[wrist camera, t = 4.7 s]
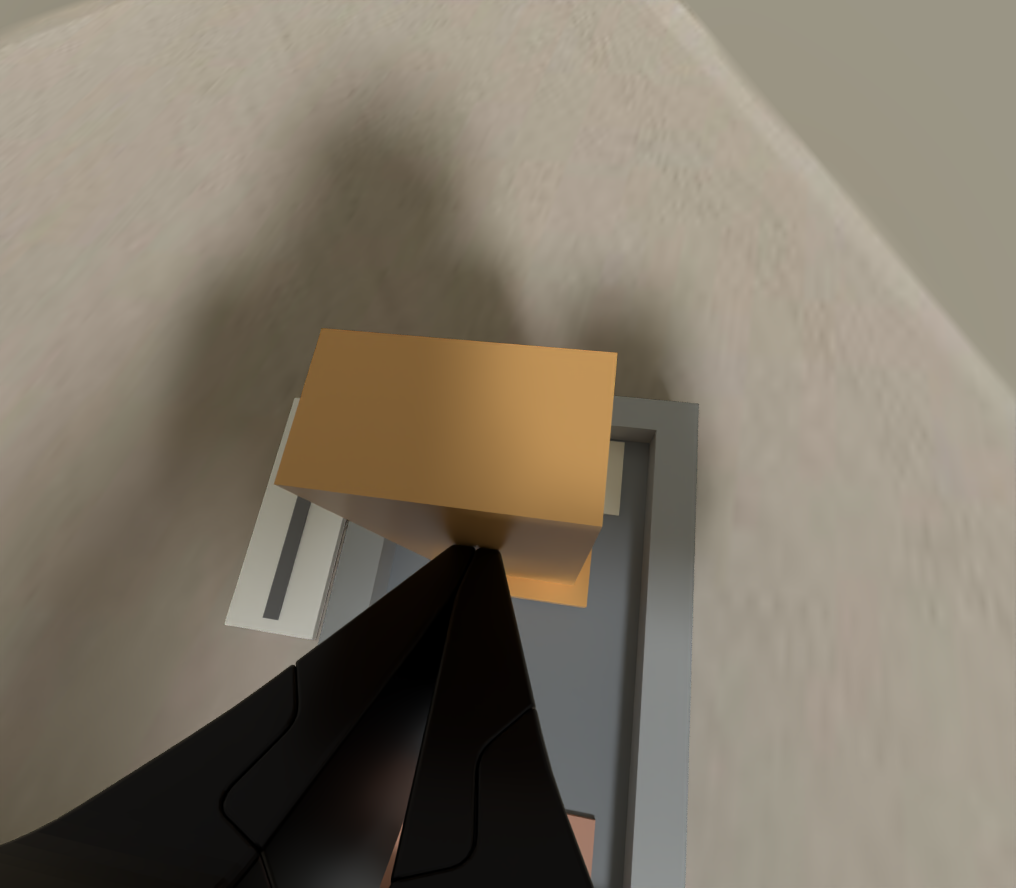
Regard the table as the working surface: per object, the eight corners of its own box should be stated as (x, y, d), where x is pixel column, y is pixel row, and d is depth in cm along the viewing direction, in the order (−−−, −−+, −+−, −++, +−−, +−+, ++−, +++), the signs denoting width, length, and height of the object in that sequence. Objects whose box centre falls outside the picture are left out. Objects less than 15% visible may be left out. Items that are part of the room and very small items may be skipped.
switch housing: (661, 990, 12) (680, 1057, 10) (156, 865, 14) (95, 902, 12) (683, 427, 17) (698, 403, 15) (302, 389, 19) (274, 363, 17)
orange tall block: (584, 608, 14) (640, 583, 5) (437, 585, 15) (226, 524, 5) (593, 506, 15) (655, 317, 6) (454, 489, 16) (302, 291, 6)
